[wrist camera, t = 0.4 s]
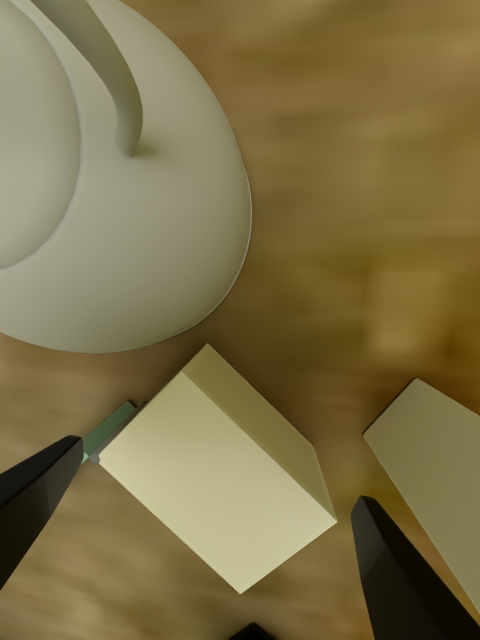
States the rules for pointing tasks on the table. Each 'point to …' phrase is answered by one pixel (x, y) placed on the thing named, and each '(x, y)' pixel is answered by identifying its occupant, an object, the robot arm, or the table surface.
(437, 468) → the milk carton
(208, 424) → the cupboard
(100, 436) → the door
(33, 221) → the kettle
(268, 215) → the table surface
